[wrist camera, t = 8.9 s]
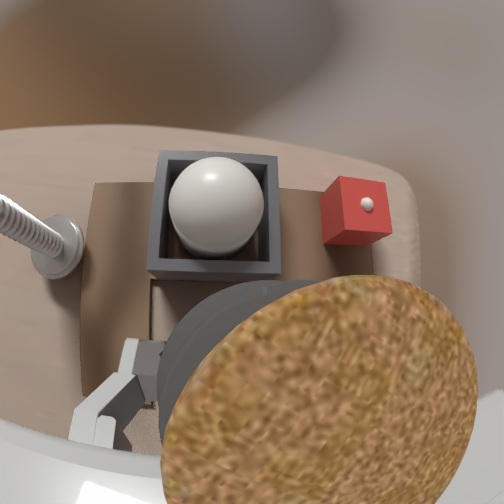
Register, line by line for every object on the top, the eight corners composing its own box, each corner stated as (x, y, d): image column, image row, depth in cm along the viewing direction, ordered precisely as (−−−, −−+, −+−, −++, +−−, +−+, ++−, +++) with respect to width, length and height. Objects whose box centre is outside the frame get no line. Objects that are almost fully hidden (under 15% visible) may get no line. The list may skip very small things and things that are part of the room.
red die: (322, 244, 23) (348, 227, 19) (319, 197, 24) (341, 172, 20) (366, 246, 24) (396, 231, 19) (361, 201, 24) (388, 180, 20)
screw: (91, 218, 21) (94, 279, 20) (43, 228, 20) (43, 285, 19) (6, 127, 9) (-13, 230, 8) (-55, 156, 8) (-72, 248, 7)
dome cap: (172, 260, 20) (158, 234, 14) (178, 185, 21) (170, 136, 15) (253, 262, 21) (273, 238, 15) (253, 188, 22) (271, 142, 16)
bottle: (292, 357, 18) (517, 412, 3) (217, 413, 16) (296, 618, 2) (236, 282, 18) (388, 148, 4) (157, 338, 16) (10, 413, 2)
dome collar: (156, 278, 20) (146, 269, 17) (165, 177, 22) (159, 150, 18) (267, 281, 22) (281, 273, 18) (265, 181, 23) (277, 156, 20)
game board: (85, 394, 18) (81, 396, 17) (97, 185, 22) (94, 182, 21) (370, 390, 21) (375, 392, 21) (362, 198, 25) (366, 196, 24)
